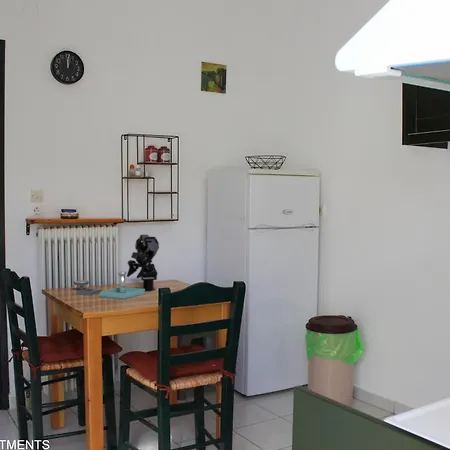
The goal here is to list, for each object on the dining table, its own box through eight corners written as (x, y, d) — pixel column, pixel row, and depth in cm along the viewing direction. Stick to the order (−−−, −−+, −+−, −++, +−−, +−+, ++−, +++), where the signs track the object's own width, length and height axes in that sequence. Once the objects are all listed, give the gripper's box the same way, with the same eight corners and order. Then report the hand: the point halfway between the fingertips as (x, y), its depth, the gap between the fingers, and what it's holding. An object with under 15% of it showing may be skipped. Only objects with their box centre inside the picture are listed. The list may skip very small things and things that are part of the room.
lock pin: (119, 293, 317) (119, 271, 317) (127, 293, 317) (126, 271, 317) (117, 294, 313) (117, 272, 313) (125, 294, 313) (125, 272, 312)
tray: (120, 292, 327) (120, 287, 327) (144, 294, 321) (144, 288, 321) (99, 297, 309) (99, 291, 309) (124, 299, 303) (124, 293, 303)
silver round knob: (79, 288, 342) (79, 279, 341) (91, 289, 338) (91, 280, 338) (70, 290, 334) (70, 281, 334) (82, 291, 330) (82, 282, 330)
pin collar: (87, 291, 328) (87, 288, 328) (101, 293, 324) (101, 289, 324) (76, 294, 319) (76, 290, 319) (90, 295, 315) (90, 291, 315)
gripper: (130, 246, 330) (114, 266, 322) (149, 247, 317) (133, 269, 309) (141, 258, 336) (125, 279, 328) (161, 261, 322) (145, 282, 315)
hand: (132, 277), depth 320 cm, fingers open, 9 cm apart
